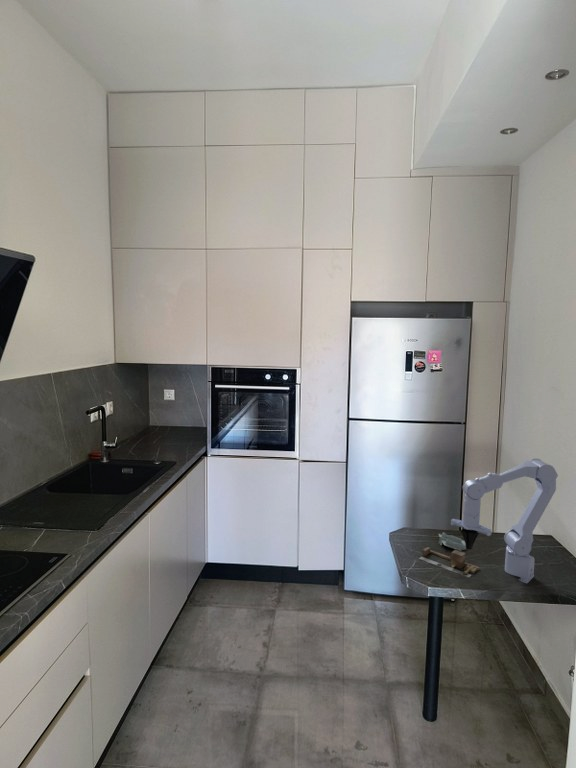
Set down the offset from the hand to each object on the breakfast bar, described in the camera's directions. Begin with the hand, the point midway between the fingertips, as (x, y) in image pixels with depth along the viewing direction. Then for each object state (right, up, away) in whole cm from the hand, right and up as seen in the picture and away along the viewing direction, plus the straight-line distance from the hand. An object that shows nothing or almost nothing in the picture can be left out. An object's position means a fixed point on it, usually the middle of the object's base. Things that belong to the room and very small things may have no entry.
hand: (469, 548), depth 179 cm
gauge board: (-6, -9, +5) cm, 12 cm away
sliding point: (-4, -8, +2) cm, 9 cm away
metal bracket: (+2, -8, +22) cm, 24 cm away
